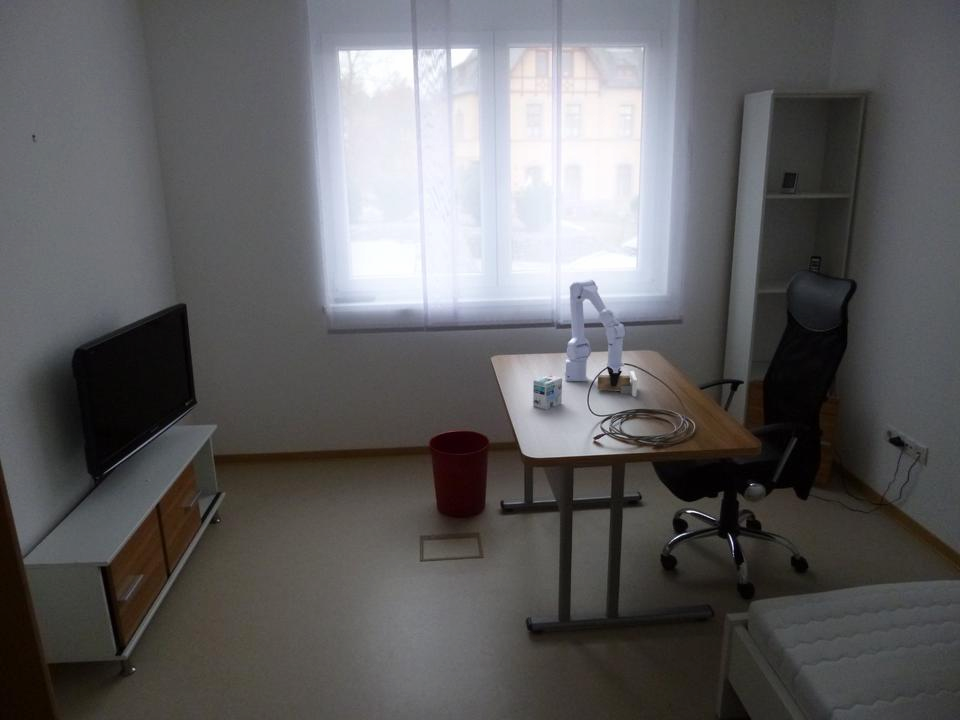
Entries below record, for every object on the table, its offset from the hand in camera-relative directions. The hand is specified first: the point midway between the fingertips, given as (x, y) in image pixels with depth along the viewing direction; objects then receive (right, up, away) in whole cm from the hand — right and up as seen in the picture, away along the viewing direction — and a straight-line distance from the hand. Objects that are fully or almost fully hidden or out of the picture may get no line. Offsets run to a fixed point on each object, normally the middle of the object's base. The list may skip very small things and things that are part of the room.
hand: (613, 384), depth 289 cm
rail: (0, -2, 0) cm, 2 cm away
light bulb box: (-29, -8, -16) cm, 34 cm away
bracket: (+5, -3, 0) cm, 6 cm away
